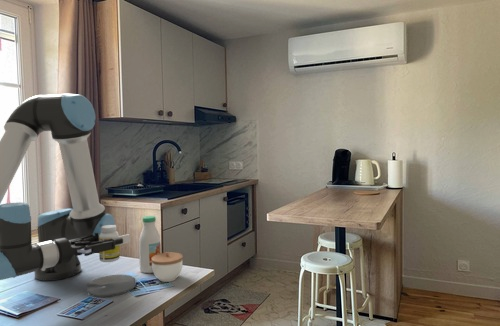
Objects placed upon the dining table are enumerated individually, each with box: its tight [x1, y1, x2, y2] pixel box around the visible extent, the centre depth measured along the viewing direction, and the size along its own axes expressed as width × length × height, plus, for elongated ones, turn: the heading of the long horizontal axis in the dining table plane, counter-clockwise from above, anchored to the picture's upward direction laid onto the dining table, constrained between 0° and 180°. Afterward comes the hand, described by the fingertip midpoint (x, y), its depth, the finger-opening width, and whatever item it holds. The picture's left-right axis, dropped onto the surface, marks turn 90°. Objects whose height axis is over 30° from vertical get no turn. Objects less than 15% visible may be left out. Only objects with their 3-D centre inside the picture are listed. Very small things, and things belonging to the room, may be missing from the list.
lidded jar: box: [151, 251, 184, 283], centre depth 130 cm, size 11×11×9 cm
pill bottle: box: [98, 224, 121, 263], centre depth 122 cm, size 6×6×11 cm
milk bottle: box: [138, 215, 162, 274], centre depth 139 cm, size 8×8×20 cm
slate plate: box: [86, 274, 137, 298], centre depth 123 cm, size 15×15×2 cm
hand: (123, 236), depth 126 cm, fingers closed on pill bottle, 6 cm apart
